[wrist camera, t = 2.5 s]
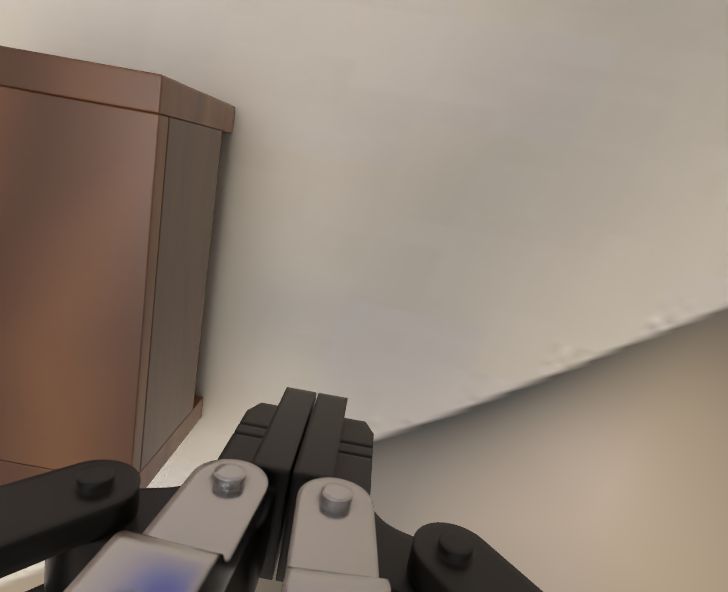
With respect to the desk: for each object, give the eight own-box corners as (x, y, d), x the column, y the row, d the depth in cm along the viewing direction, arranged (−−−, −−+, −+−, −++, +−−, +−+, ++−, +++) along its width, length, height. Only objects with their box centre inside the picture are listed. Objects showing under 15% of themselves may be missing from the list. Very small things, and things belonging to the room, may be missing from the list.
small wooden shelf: (235, 106, 24) (162, 74, 16) (201, 417, 28) (128, 511, 20) (25, 69, 24) (-148, 19, 16) (18, 383, 28) (-125, 464, 20)
